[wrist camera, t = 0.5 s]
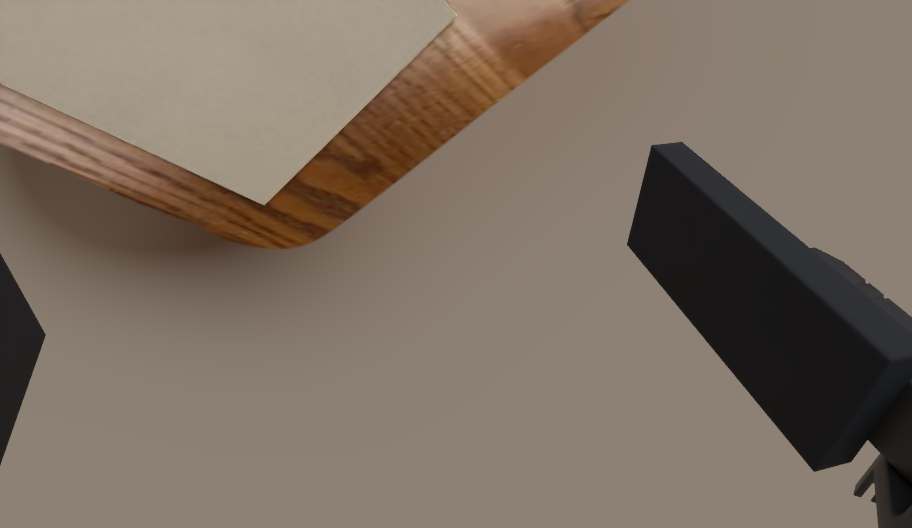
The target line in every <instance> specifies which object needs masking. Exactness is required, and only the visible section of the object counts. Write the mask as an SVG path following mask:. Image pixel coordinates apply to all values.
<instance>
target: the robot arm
mask: <svg viewBox="0 0 912 528" xmlns="http://www.w3.org/2000/svg"><path fill="white" fill-rule="evenodd" d="M627 245H628V246H629V248H630V249H631V250H632V251H633V252H634V253H635V255H636V256H637V257H638V258H639V260H640V261H641V262H642V263H643V265H644V266H645V267H646V268H647V269H648V271H649V272H650V273H651V274H652V275H653V277H654V278H655V279H656V280H657V282H658V283H659V284H660V285H661V286H662V287H663V289H664V290H665V291H666V292H667V294H668V295H669V296H670V297H671V299H672V300H673V301H674V302H675V303H676V305H677V306H678V307H679V308H680V310H682V312H683V313H684V314H685V316H686V317H687V318H688V319H689V320H690V321H691V323H692V324H693V325H694V327H696V329H697V330H698V331H699V333H700V334H701V335H702V336H703V337H704V339H705V340H706V341H707V342H708V343H709V345H710V346H711V347H712V348H713V349H714V351H715V352H716V353H717V354H718V356H719V357H720V358H721V359H722V361H723V362H724V363H725V364H726V365H727V367H728V368H729V369H730V370H731V371H732V373H733V374H734V375H735V376H736V378H737V379H738V380H739V381H740V382H741V384H742V385H743V386H744V387H745V388H746V390H747V391H748V392H749V393H750V395H751V396H752V397H753V398H754V399H755V401H756V402H757V403H758V404H759V405H760V407H761V408H762V409H763V410H764V411H765V413H766V414H767V415H768V416H769V418H770V419H771V420H772V421H773V422H774V424H775V425H776V426H777V427H778V429H779V430H780V431H781V432H782V433H783V435H784V436H785V437H786V438H787V439H788V440H789V442H790V443H791V444H792V446H793V447H794V448H795V449H796V450H797V452H798V453H799V454H800V455H801V456H802V458H803V459H804V460H805V461H806V463H807V464H808V465H809V466H810V467H811V469H812V470H813V471H814V472H815V471H819V470H823V469H826V468H830V467H834V466H838V465H841V464H845V463H849V462H851V461H852V460H853V459H854V457H855V456H856V455H857V453H858V452H859V450H860V449H861V448H862V446H863V445H864V444H865V442H866V441H867V440H869V441H870V442H871V444H873V446H874V447H875V448H876V449H877V450H878V451H879V452H880V455H879V456H878V457H877V458H876V460H875V461H874V462H873V464H872V465H871V466H870V467H869V469H868V470H867V471H866V473H865V474H864V475H863V477H862V478H861V479H860V481H859V482H858V483H857V484H856V487H855V491H854V495H855V496H858V497H861V496H862V495H863V494H864V493H865V492H866V490H867V489H868V488H869V487H870V485H871V484H872V483H875V495H874V497H873V498H872V499H871V501H872V502H875V503H876V504H877V516H878V527H879V528H912V317H911V316H909V315H908V314H907V313H906V312H905V311H903V310H902V309H901V308H900V307H898V306H897V305H896V304H895V303H893V302H892V301H891V300H890V299H888V298H887V299H884V297H883V294H882V293H881V292H880V291H879V290H877V289H876V288H875V287H874V286H872V285H871V284H870V283H869V284H866V283H865V279H864V278H862V277H861V276H860V275H859V274H857V273H856V272H855V271H854V270H852V269H851V268H850V267H849V266H848V265H846V264H845V263H844V262H842V261H840V260H838V259H836V258H834V257H832V256H831V255H829V254H827V253H825V252H822V251H821V250H819V249H817V248H809V247H808V246H806V245H805V244H804V243H803V242H802V241H800V240H799V239H798V238H797V237H796V236H794V235H793V234H792V233H791V232H789V231H788V230H787V229H786V228H785V227H783V226H782V225H781V224H780V223H779V222H778V221H776V220H775V219H774V218H773V217H772V216H770V215H769V214H768V213H767V212H765V211H764V210H763V209H762V208H761V207H759V206H758V205H757V204H756V203H755V202H754V201H752V200H751V199H750V198H749V197H747V196H746V195H745V194H744V193H743V192H741V191H740V190H739V189H738V188H737V187H735V186H734V185H733V184H732V183H731V182H729V181H728V180H727V179H726V178H725V177H723V176H722V175H721V174H720V173H719V172H717V171H716V170H715V169H714V168H712V167H711V166H710V165H709V164H708V163H706V162H705V161H704V160H703V159H702V158H701V157H699V156H698V155H697V154H696V153H694V152H693V151H692V150H691V149H690V148H688V147H687V146H686V145H685V144H684V143H683V142H678V143H668V144H660V145H652V146H651V151H650V154H649V158H648V162H647V167H646V170H645V175H644V178H643V182H642V186H641V190H640V195H639V199H638V203H637V207H636V211H635V215H634V219H633V223H632V227H631V231H630V235H629V239H628V243H627ZM44 338H45V333H44V331H43V329H42V327H41V326H40V324H39V322H38V320H37V318H36V317H35V315H34V313H33V311H32V310H31V308H30V306H29V304H28V302H27V301H26V299H25V297H24V295H23V293H22V292H21V290H20V288H19V286H18V284H17V283H16V281H15V279H14V277H13V275H12V274H11V272H10V270H9V268H8V266H7V265H6V263H5V261H4V259H3V258H2V256H1V254H0V464H1V461H2V459H3V456H4V453H5V450H6V447H7V444H8V441H9V438H10V436H11V433H12V430H13V427H14V424H15V421H16V418H17V415H18V413H19V410H20V407H21V404H22V401H23V398H24V396H25V393H26V390H27V387H28V384H29V381H30V378H31V376H32V372H33V370H34V367H35V364H36V361H37V358H38V355H39V353H40V350H41V346H42V344H43V341H44Z"/></svg>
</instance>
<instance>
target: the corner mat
mask: <svg viewBox="0 0 912 528" xmlns="http://www.w3.org/2000/svg"><path fill="white" fill-rule="evenodd" d="M456 16H457V14H456V12H455V11H454V10H453V9H452V8H451V7H450V6H449V5H448V4H447V2H446V1H445V0H0V84H2V85H4V86H6V87H8V88H11V89H13V90H15V91H17V92H19V93H21V94H24V95H26V96H28V97H30V98H32V99H34V100H37V101H39V102H41V103H43V104H45V105H47V106H50V107H52V108H54V109H56V110H58V111H60V112H63V113H65V114H67V115H69V116H71V117H73V118H76V119H78V120H80V121H82V122H84V123H86V124H89V125H91V126H93V127H95V128H97V129H99V130H102V131H104V132H106V133H108V134H110V135H112V136H115V137H117V138H119V139H121V140H123V141H125V142H128V143H130V144H132V145H134V146H136V147H138V148H141V149H143V150H145V151H147V152H149V153H151V154H154V155H156V156H158V157H160V158H162V159H164V160H167V161H169V162H171V163H173V164H175V165H178V166H180V167H182V168H184V169H186V170H188V171H191V172H193V173H195V174H197V175H199V176H201V177H204V178H206V179H208V180H210V181H212V182H214V183H217V184H219V185H221V186H223V187H225V188H227V189H230V190H232V191H234V192H236V193H238V194H240V195H243V196H245V197H247V198H249V199H251V200H253V201H256V202H258V203H260V204H262V205H265V204H266V203H267V202H268V201H269V200H270V199H271V198H272V197H273V196H274V195H275V194H276V193H277V192H278V191H279V190H280V189H281V188H282V187H284V186H285V185H286V184H287V183H288V182H289V181H290V180H291V179H292V178H293V177H294V176H295V175H296V174H297V173H298V172H299V171H300V170H301V169H302V168H303V167H304V166H305V165H306V164H307V163H308V162H309V161H310V160H311V159H312V158H313V157H314V156H315V155H316V154H317V153H318V152H319V151H320V150H321V149H322V148H323V147H324V146H325V145H326V144H327V143H328V142H329V141H330V140H331V139H332V138H333V137H334V136H335V135H336V134H337V133H338V132H339V131H340V130H342V129H343V128H344V127H345V126H346V125H347V124H348V123H349V122H350V121H351V120H352V119H353V118H354V117H355V116H356V115H357V114H358V113H359V112H360V111H361V110H362V109H363V108H364V107H365V106H366V105H367V104H368V103H369V102H370V101H371V100H372V99H373V98H374V97H375V96H376V95H377V94H378V93H379V92H380V91H381V90H382V89H383V88H384V87H385V86H386V85H387V84H388V83H389V82H390V81H391V80H392V79H393V78H394V77H395V76H396V75H397V74H398V73H399V72H401V71H402V70H403V69H404V68H405V67H406V66H407V65H408V64H409V63H410V62H411V61H412V60H413V59H414V58H415V57H416V56H417V55H418V54H419V53H420V52H421V51H422V50H423V49H424V48H425V47H426V46H427V45H428V44H429V43H430V42H431V41H432V40H433V39H434V38H435V37H436V36H437V35H438V34H439V33H440V32H441V31H442V30H443V29H444V28H445V27H446V26H447V25H448V24H449V23H450V22H451V21H452V20H453V19H454V18H455V17H456Z"/></svg>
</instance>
